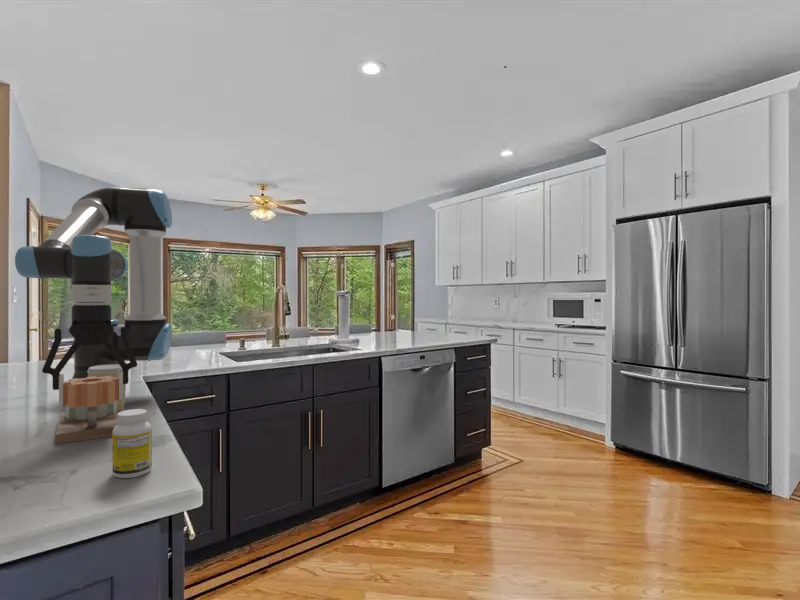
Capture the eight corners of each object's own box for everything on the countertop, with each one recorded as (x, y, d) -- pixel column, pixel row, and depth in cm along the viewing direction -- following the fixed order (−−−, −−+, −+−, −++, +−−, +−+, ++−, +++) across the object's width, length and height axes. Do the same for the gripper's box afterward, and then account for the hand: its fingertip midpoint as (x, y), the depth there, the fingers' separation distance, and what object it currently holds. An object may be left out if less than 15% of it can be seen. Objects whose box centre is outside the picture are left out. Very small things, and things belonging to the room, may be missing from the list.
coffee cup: (135, 408, 133) (135, 365, 133) (104, 416, 124) (104, 370, 124) (110, 405, 136) (110, 363, 136) (78, 412, 127) (78, 368, 127)
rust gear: (64, 400, 110) (64, 378, 110) (117, 395, 116) (117, 374, 116) (62, 409, 101) (62, 386, 101) (120, 403, 107) (120, 381, 107)
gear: (58, 415, 117) (58, 394, 117) (104, 406, 126) (104, 388, 126) (77, 422, 111) (77, 400, 111) (124, 412, 120) (124, 393, 120)
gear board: (60, 422, 118) (60, 385, 118) (121, 415, 125) (121, 381, 125) (55, 443, 102) (55, 401, 101) (125, 434, 109) (126, 395, 109)
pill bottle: (122, 466, 89) (122, 407, 89) (157, 466, 89) (157, 407, 89) (105, 479, 83) (105, 416, 82) (142, 479, 83) (142, 416, 83)
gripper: (25, 304, 99) (25, 411, 99) (150, 304, 111) (150, 398, 111) (29, 303, 105) (29, 403, 105) (147, 303, 117) (147, 392, 118)
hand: (91, 401), depth 108 cm, fingers closed on rust gear, 11 cm apart
